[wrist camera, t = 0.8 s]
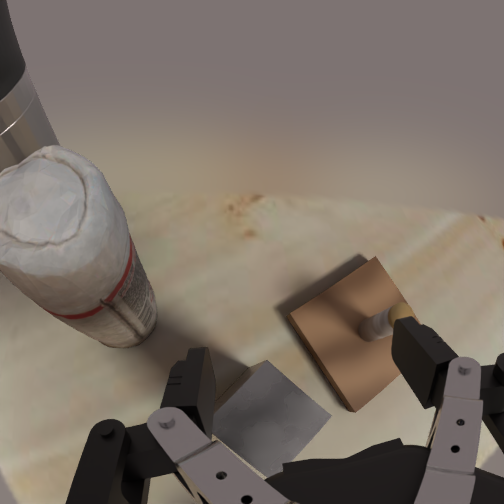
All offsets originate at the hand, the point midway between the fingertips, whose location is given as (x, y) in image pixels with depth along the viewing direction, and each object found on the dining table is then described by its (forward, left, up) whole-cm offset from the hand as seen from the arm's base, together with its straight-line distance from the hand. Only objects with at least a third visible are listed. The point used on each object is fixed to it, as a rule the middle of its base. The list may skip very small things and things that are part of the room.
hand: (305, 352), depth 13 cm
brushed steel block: (+3, -2, -18) cm, 18 cm away
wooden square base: (+3, +12, -18) cm, 22 cm away
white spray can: (-12, -8, -18) cm, 23 cm away
